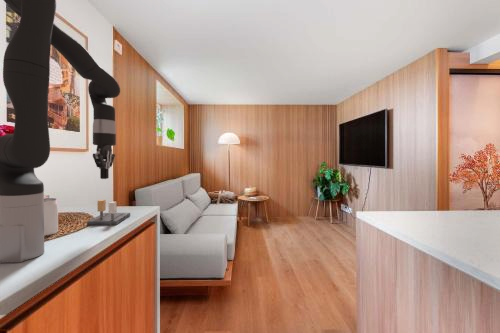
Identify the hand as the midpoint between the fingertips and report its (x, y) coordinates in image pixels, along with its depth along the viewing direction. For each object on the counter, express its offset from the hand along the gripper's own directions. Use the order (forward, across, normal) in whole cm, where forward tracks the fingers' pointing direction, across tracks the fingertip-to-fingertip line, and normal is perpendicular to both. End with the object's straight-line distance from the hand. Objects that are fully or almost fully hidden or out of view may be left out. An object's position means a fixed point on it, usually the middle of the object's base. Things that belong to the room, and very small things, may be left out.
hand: (104, 178), depth 94 cm
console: (+19, +12, +3) cm, 23 cm away
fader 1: (+17, +11, +6) cm, 21 cm away
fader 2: (+17, +7, 0) cm, 18 cm away
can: (+19, -6, +16) cm, 26 cm away
